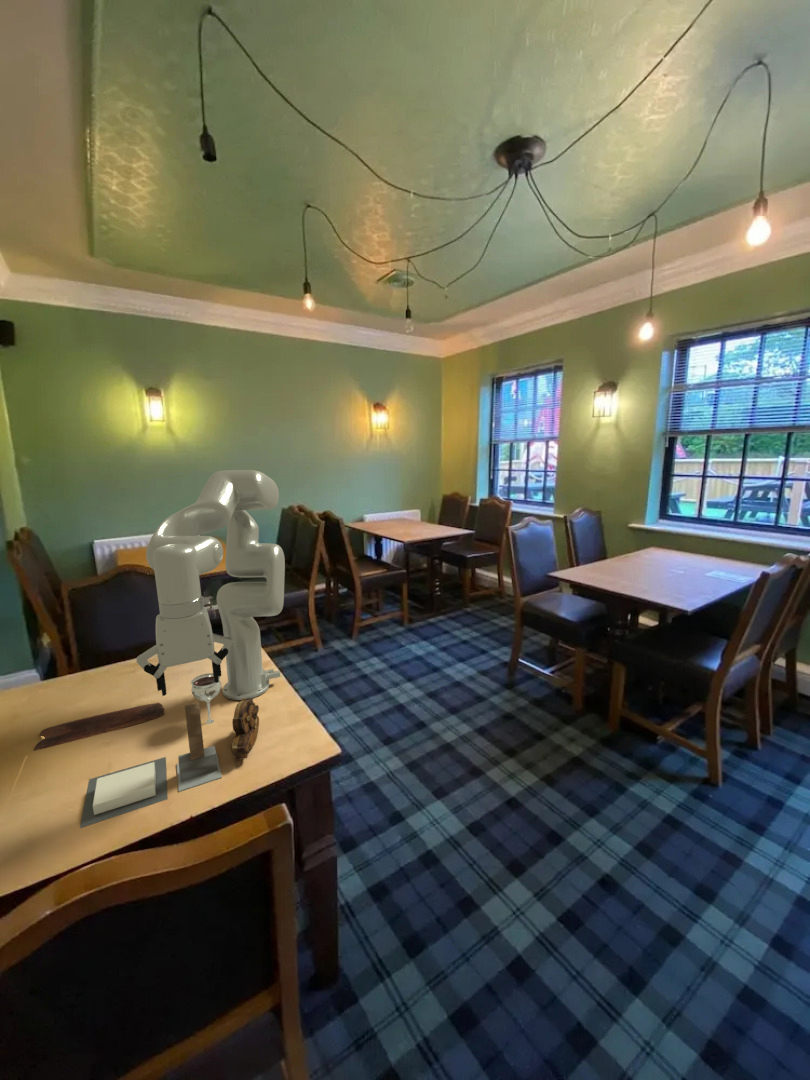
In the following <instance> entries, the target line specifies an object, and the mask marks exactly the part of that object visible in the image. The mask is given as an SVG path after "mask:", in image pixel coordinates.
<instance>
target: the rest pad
mask: <svg viewBox="0 0 810 1080" xmlns="http://www.w3.org/2000/svg"><path fill="white" fill-rule="evenodd" d="M216 758H217V768H218V770H217V771H214V772H211V773H208V774H205V775H201V776H198V777H195V778H192V779H189V780H185V781H182V782H181V779H180V770H179V762H178V763H176V772H177V773H176V774H177V787H178V788H177V789H178V793H180V792H183V791H187V790H189V789H193V788H195V787H198V786H201V785H205V784H208V783H210V782H211V783H212V782H213V781H217V780H219V779H222V778H223V775H222V772H221V766H220V763H219V757H218V753H217V751H216Z"/></svg>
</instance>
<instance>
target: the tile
mask: <svg viewBox="0 0 810 1080" xmlns="http://www.w3.org/2000/svg"><path fill="white" fill-rule="evenodd" d="M155 795H156V773H155V763H154V762H152V763H149V764H146V765H142V766H139V767H135V768H132V769H129V770H125V771H122V772H118V773H115V774H112V775H108V776H105V777H101V778H98V779H97V783H96V789H95V795H94V801H93V811H94V815H96V814H99V813H103V812H106V811H109V810H112V809H115V808H118V807H121V806H124V805H127V804H130V803H133V802H136V801H140V800H143V799H146V798H149V797H152V796H155Z"/></svg>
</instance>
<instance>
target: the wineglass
mask: <svg viewBox="0 0 810 1080" xmlns="http://www.w3.org/2000/svg"><path fill="white" fill-rule="evenodd" d="M218 679H219V682H218V683H216V682H215V681H214V677H213V672H211V673H207V672H206V673H203V674H200V675H198V676H196V677H194V678H193V679H192V680H191V681H190V685H191V694H192V696H193V698H195V699H196V700H198V701H201V702H206V703H205V704H206V709H207V716H208V719H207V720H206V721H205V724H207V725H212V724H213V723H215V719H213V718H212V719H211V703H210V702H211V701H212V700H213V699H214V698H216V697H217V696H218V695H219V693H220V692H221V689H222V681H221V676H219V677H218Z"/></svg>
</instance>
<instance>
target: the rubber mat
mask: <svg viewBox="0 0 810 1080" xmlns="http://www.w3.org/2000/svg"><path fill="white" fill-rule="evenodd" d="M152 762H154V763H155V773H156V795H155V796H152V797H149V798H146V799H143V800H140V801H136V802H133V803H130V804H127V805H124V806H121V807H118V808H115V809H112V810H109V811H106V812H103V813H99V814H96V815H94V811H93V801H94V795H95V789H96V783H97V779H98V778H101V777H105V776H108V775H112V774H115V773H118V772H122V771H125V770H129V769H132V768H135V767H139V766H142V765H146V764H149V763H152ZM168 799H169V797H168V776H167V757H166V756H163V757H161V758H157V759H154V760H150V761H147V762H144V763H141V764H137V765H133V766H130V767H127V768H123V769H119V770H116V771H113V772H109V773H105V774H102V775H99V776H95V777H93V778H89V780H88V783H87V789H86V795H85V800H84V804H83V809H82V814H81V816H82V817H81V821H80V826H79V829H82V828H86V827H88V826H91V825H94V824H97V823H100V822H103V821H106V820H108V819H113V818H115V817H118V816H121V815H124V814H127V813H130V812H133V811H134V812H135V811H137V810H139V809H143V808H145V807H148V806H151V805H154V804H157V803H160V802H163V801H167V800H168Z"/></svg>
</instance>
